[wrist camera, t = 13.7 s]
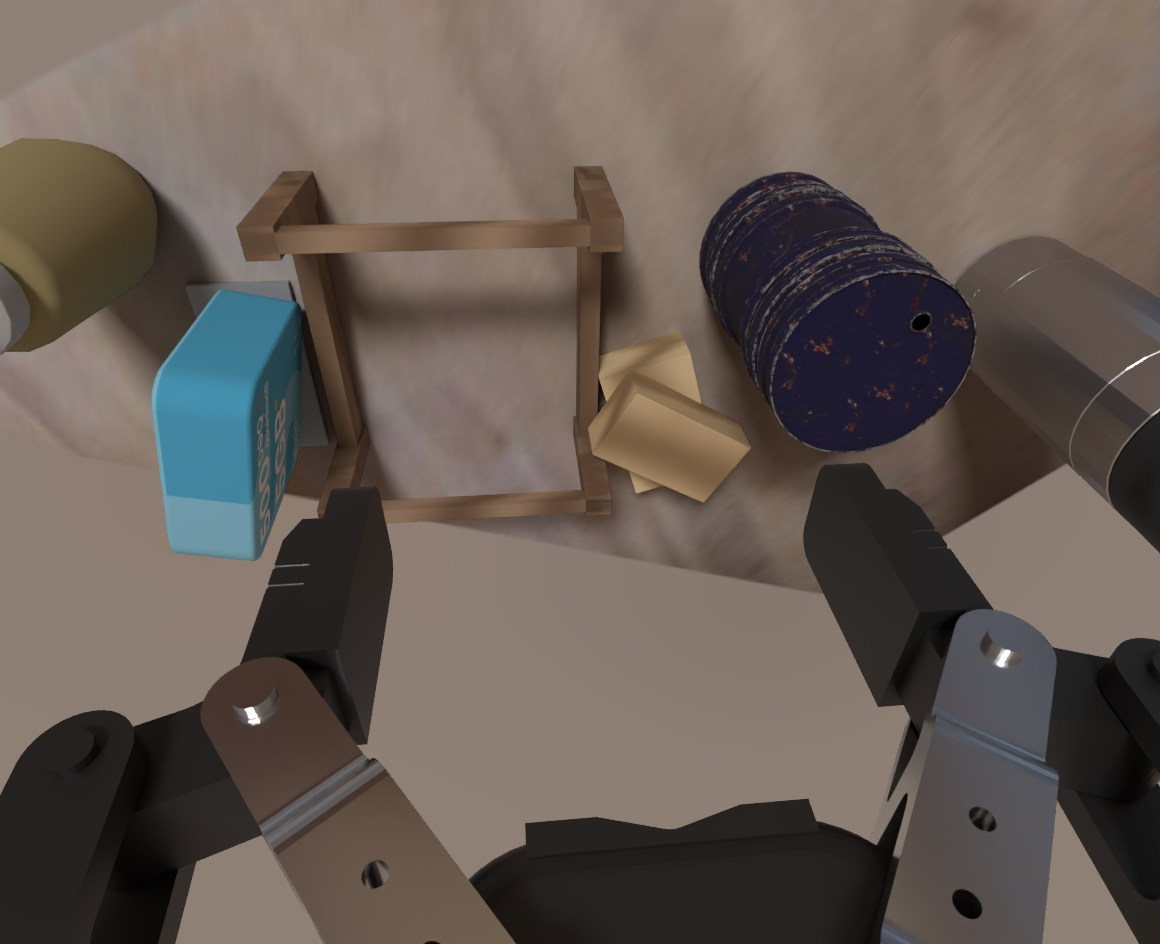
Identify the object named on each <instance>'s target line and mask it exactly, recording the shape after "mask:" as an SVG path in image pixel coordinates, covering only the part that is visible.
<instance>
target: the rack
mask: <svg viewBox="0 0 1160 944" xmlns="http://www.w3.org/2000/svg"><path fill="white" fill-rule="evenodd" d="M574 197H575V201H576V204H577V219H550V220H506V221H462V222H418V223H374V224H330V225H320V223H319V218H318V213H317V209H316V204H317V202H318V196H317V192H316V187H315V182H314V177H313V173H312V171H300V172H282V173H281V174H280V176H279V177H278V178H277V179H276V180H275V182H274V183H273V184H272V185H271V186H270V188H269V189H268V190H267V191H266V192H265V193H264V195H263V196H262V197H261V198H260V199H259V201H258V202H257V203H256V204H255V205H254V207H253V208H252V209H251V210H250V211H249V213H248V214H247V215H246V216H245V217H244V219H243V220H242V221H241V222H240V223H239V225H238V226H237V227H236V228H237V232H238V235H239V239H240V242H241V246H242V249H243V253H244V256H245V260H246V261H281V260H282V258H283V257H284V255H285V254H292V256H293V260H294V264H295V268H296V272H297V276H298V280H299V284H300V289H301V293H302V297H303V301H304V305H305V309H306V313H307V317H308V322H309V326H310V330H311V334H312V338H313V342H314V346H315V350H316V354H317V359H318V363H319V367H320V371H321V375H322V379H323V383H324V387H325V392H326V396H327V400H328V404H329V408H330V412H331V416H332V420H333V425H334V429H335V433H336V437H337V441H338V442H337V446H336V449H335V452H334V456H333V459H332V462H331V466H330V469H329V472H328V475H327V479H326V482H325V485H324V489H323V492H322V495H321V499H320V502H319V505H318V509H317V512H318V516H319V518H323V516H324V512H325V509H326V505H327V502H328V498H329V495H330V492H331V490H332V489H334V488H354V487H359V486H360V482H361V478H362V473H363V469H364V465H365V461H366V457H367V453H368V449H369V439H368V434H367V430H366V426H363V425H362V420H361V415H360V411H359V406H358V401H357V396H356V392H355V387H354V382H353V378H352V373H351V368H350V364H349V359H348V354H347V350H346V345H345V340H344V335H343V331H342V326H341V321H340V317H339V312H338V307H337V303H336V298H335V293H334V289H333V284H332V279H331V274H330V270H329V265H328V260H327V256H326V253H350V252H389V251H427V250H466V249H505V248H544V247H577V381H576V416H574V428H573V435H574V442H575V449H576V455H577V462H578V469H579V476H580V483H581V489H582V490H575V491H556V492H537V493H517V494H498V495H479V496H459V497H440V498H421V499H402V500H382V501H381V502H382V507H383V512H384V517H385V521H386V523H399V522H417V521H436V520H455V519H473V518H492V517H510V516H529V515H547V514H566V513H584V512H585V516H595V515H611V490H610V485H609V480H608V475H607V470H606V465H605V460H604V459H602V458H599V457H597V456H595V455H593V454H592V448H591V443H590V437H589V431H588V427H589V426H590V425H591V423H592V422H593V420H594V419H595V417H596V416H597V409H598V371H599V334H600V296H601V258H602V252H622V247H623V225H624V218H623V215H622V213H621V211H620V208H619V206H618V203H617V201H616V199H615V196H614V194H613V191H612V189H611V187H610V184H609V182H608V180H607V177H606V175H605V172H604V170H603V168H602V166H590V167H574Z"/></svg>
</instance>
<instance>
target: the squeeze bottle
mask: <svg viewBox="0 0 1160 944" xmlns="http://www.w3.org/2000/svg"><path fill="white" fill-rule="evenodd" d="M157 218H158V211H157V208H156V205H155V201H154V198H153V195H152V192H151V190H150V189H149V187H148V186H147V184H146V183H145V182H144V180H143V179H142V178H141V176H140V175H139V173H138V172H137V171H136V170H135V169H134V168H132V167H131V166H130V165H129V164H127V163H126V162H125V161H123V160H122V159H121V158H119V157H118V156H117V155H116V154H113V153H111V152H108V151H105V150H103V149H100V148H98V147H95V146H92V145H88V144H82V143H76V142H70V141H64V140H58V139H27V138H21V139H19V140H16V141H14V142H12V143H10V144H8V145H6V146H4V147H2V148H0V355H2V354H3V353H4V352H30V351H32V350H35V349H37V348H40V347H42V346H44V345H47V344H49V343H51V342H53V341H55V340H56V339H58V338H59V337H61V336H62V335H64V334H65V333H67V332H68V331H70V330H71V329H73V328H74V327H76V326H77V325H78V324H80V323H81V322H83V321H84V320H86V319H87V318H89V317H90V316H92V315H93V314H95V313H96V312H98V311H99V310H101V309H102V308H103V307H105V306H106V305H108V304H109V303H111V302H112V301H114V300H115V299H117V298H118V297H120V296H121V295H123V294H124V293H126V292H127V291H128V290H130V289H131V288H133V287H134V286H136V285H137V284H138V283H139V282H140V281H141V280H142V278H143V277H144V276H145V274H146V273H147V272H148V270H149V269H150V268H151V266H152V265H153V262H154V253H155V245H156V237H157Z"/></svg>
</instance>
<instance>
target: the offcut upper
mask: <svg viewBox="0 0 1160 944" xmlns="http://www.w3.org/2000/svg"><path fill="white" fill-rule="evenodd" d="M588 431H589V437H590V443H591V448H592V454H593V455H595V456H597V457H599V458H602V459H604V460H606V461H609V462H611V463H613V464H615V465H618V466H620V467H622V468H625V469H627V470H629V471H632V472H634V473H636V474H639V475H641V476H643V477H645V478H648V479H650V480H652V481H655V482H657V483H659V484H662V485H664V486H666V487H669V488H671V489H673V490H675V491H678V492H680V493H682V494H685V495H687V496H689V497H692V498H694V499H696V500H699V501H701V502H703V503H704V501H705V500H706V499H707V498H708V497H709V496H710V495H711V493H712V492H713V491H714V490H715V489H716V488H717V487H718V485H719V484H720V483H721V482H722V481H723V480H724V479H725V477H726V476H727V475H728V474H729V473H730V472H731V470H732V469H733V468H734V467H735V466H736V465H737V464H738V462H739V461H740V460H741V459H742V458H743V457H744V456H745V454H746V453H747V452H748V451H749V450H750V449H751V447H750V445H749V443H748V441H747V439H746V436H745V434H744V432H743V430H742V428H741V426H740V424H739V422H737V421H735V420H733V419H731V418H729V417H727V416H725V415H723V414H721V413H719V412H717V411H715V410H713V409H711V408H709V407H707V406H705V405H703V404H701V403H699V402H697V401H695V400H693V399H691V398H689V397H687V396H685V395H683V394H681V393H679V392H677V391H675V390H673V389H671V388H669V387H667V386H665V385H663V384H661V383H659V382H657V381H655V380H653V379H651V378H649V377H647V376H645V375H643V374H641V373H639V372H637V371H635V370H633V369H631V368H630V369H629V371H628V372H627V374H626V375H625V376H624V378H623V379H622V381H621V382H620V383H619V385H618V386H617V388H616V389H615V391H614V392H613V393H612V395H611V396H610V398H609V399H608V400H607V402H606V403H605V405H604V406H603V408H602V409H601V410H600V412H599V413H598V415H597V416H596V417H595V419H594V420H593V422H592V423H591V425H590V426H589V427H588Z"/></svg>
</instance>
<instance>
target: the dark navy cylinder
mask: <svg viewBox="0 0 1160 944" xmlns="http://www.w3.org/2000/svg"><path fill="white" fill-rule="evenodd" d="M699 266H700V273H701V278H702V281H703V285H704V287H705V289H706V291H707V293H708V295H709V297H710V300H711V303H712V306H713V308H714V310H715V311H716V313H717V315H718V317H719V319H720V321H721V323H722V325H723V327H724V329H725V331H726V332H727V333H728V335H729V336H730V337H731V338H732V339H733V340H734V341H735V342H736V343H737V344H738V345H739V346H740V347H741V352H742V357H743V360H744V363H745V366H746V368H747V370H748V372H749V374H750V376H751V377H752V379H753V380H754V382H755V384H756V386H757V387H758V389H759V391H760V393H761V395H762V397H763V398H764V399H765V400H766V402H767V403H768V404H769V405H770V406H771V408H772V410H773V411H774V413H775V415H776V417H777V419H778V421H779V422H780V424H781V425H782V427H783V428H784V429H785V430H786V431H787V433H788V434H790V435H791V436H792V437H793V438H795V439H796V440H797V441H799V442H801V443H803V444H805V445H807V446H808V447H811V448H815V449H818V450H821V451H827V452H834V453H851V452H860V451H866V450H870V449H874V448H878V447H881V446H884V445H886V444H889V443H892V442H894V441H896V440H898V439H900V438H902V437H904V436H906V435H908V434H910V433H911V432H913V431H915V430H916V429H918V428H919V427H921V426H922V425H924V424H925V423H926V422H927V421H929V420H930V419H931V418H932V417H934V416H935V415H936V414H937V413H938V412H939V411H940V410H941V409H942V408H943V407H944V406H945V405H946V404H947V403H948V401H949V400H950V399H951V398H952V397H953V395H954V394H955V393H956V391H957V390H958V388H959V387H960V385H961V384H962V382H963V380H964V379H965V377H966V374H967V372H968V370H969V368H970V366H971V363H972V359H973V356H974V352H975V347H976V338H977V333H976V322H975V318H974V315H973V311H972V309H971V307H970V305H969V303H968V301H967V300H966V298H965V297H964V296H963V295H962V293H961V292H960V291H959V290H958V289H957V288H956V287H955V286H953V285H952V284H951V283H950V282H949V281H947V280H946V279H944V278H943V277H942V276H941V275H940V273H939V272H938V271H937V270H936V269H935V268H934V267H933V265H932V264H931V263H930V262H928V261H927V260H926V259H925V258H923V257H922V256H921V255H920V254H918V253H917V252H915V251H914V250H913V249H912V247H911V246H909V245H908V244H907V243H905V242H904V241H902V240H901V239H900V238H897V237H895V236H893V235H891V234H888V233H885V232H883V231H881V230H880V229H879V227H878V225H877V224H876V222H875V221H874V219H873V217H872V216H871V215H870V214H869V213H868V212H867V211H866V210H865V209H864V208H863V207H861V206H860V205H859V204H857V203H856V202H854V201H853V200H851V199H850V198H849V197H847V196H846V195H845V194H843V193H842V192H840V191H838V190H836V189H834V188H833V187H832V186H830V185H829V184H827V183H826V182H825V181H823V180H821V179H819V178H817V177H815V176H813V175H809V174H805V173H801V172H781V173H774V174H771V175H767V176H763V177H761V178H759V179H756V180H754V181H752V182H750V183H748V184H747V185H745V186H743V187H742V188H740V189H739V190H738V191H736V192H735V193H734V194H733V195H732V196H730V197H729V198H728V199H727V200H726V201H725V202H724V203H723V205H722V206H721V207H720V208H719V209H718V211H717V212H716V214H715V215H714V216H713V218H712V219H711V221H710V223H709V225H708V227H707V229H706V232H705V235H704V238H703V241H702V244H701V250H700V263H699Z"/></svg>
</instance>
